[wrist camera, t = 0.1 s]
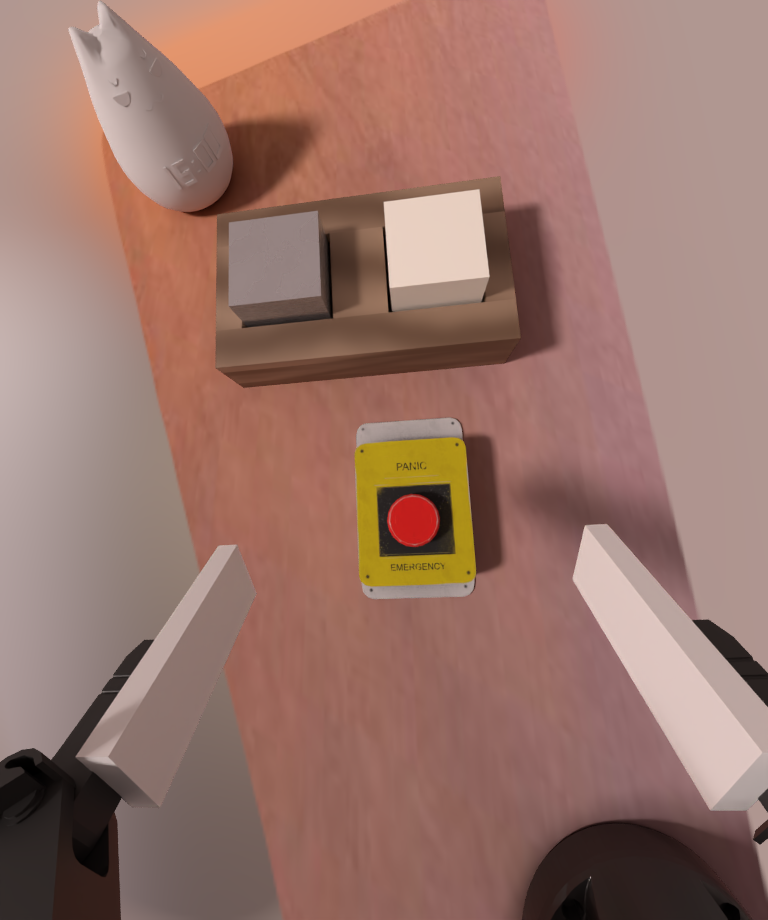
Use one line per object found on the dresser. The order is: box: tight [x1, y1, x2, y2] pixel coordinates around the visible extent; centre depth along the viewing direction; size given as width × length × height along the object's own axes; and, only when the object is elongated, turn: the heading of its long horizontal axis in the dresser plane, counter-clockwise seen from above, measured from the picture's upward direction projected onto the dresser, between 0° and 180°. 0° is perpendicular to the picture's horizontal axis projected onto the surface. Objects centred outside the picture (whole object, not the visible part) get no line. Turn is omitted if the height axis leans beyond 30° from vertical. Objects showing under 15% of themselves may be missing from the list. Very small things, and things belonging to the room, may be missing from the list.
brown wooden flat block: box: [216, 176, 521, 388], centre depth 29 cm, size 14×24×4 cm, turn 94°
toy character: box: [68, 1, 233, 212], centre depth 29 cm, size 10×10×12 cm
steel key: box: [229, 211, 332, 328], centre depth 27 cm, size 7×7×3 cm
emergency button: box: [355, 418, 476, 599], centre depth 27 cm, size 9×4×15 cm
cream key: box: [384, 189, 490, 312], centre depth 26 cm, size 7×7×3 cm
